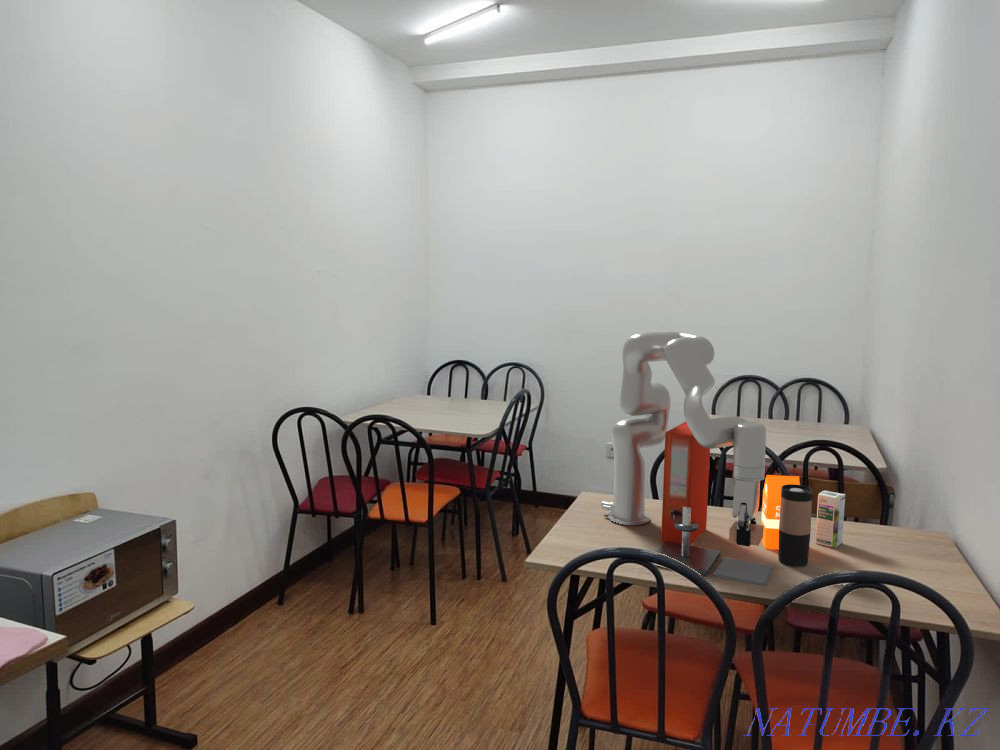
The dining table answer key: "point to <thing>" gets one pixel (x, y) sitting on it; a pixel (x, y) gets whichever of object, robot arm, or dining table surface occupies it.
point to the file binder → (684, 483)
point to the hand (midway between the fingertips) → (746, 539)
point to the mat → (744, 571)
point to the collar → (754, 536)
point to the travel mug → (795, 525)
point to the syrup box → (830, 519)
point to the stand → (690, 548)
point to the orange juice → (773, 508)
